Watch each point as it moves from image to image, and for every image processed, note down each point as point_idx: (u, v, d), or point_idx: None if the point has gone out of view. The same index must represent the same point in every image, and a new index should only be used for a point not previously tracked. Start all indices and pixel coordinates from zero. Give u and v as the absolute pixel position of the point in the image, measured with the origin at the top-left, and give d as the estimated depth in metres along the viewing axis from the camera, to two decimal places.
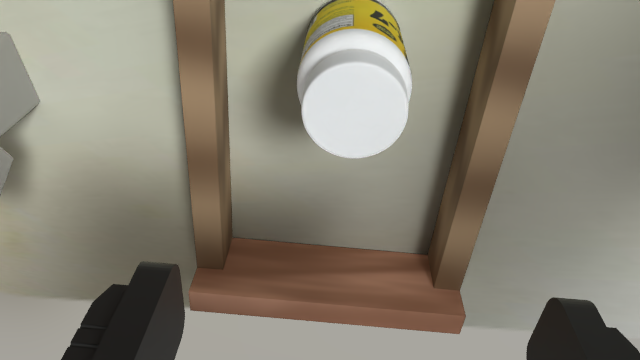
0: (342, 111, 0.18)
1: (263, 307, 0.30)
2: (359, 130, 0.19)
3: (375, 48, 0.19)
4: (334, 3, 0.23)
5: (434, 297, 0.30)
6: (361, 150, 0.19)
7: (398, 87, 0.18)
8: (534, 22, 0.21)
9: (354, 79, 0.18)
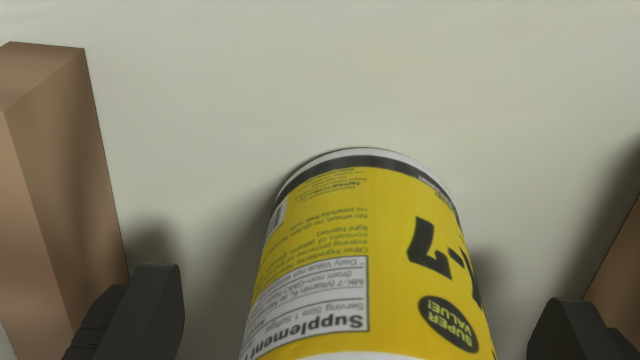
0: None
1: None
2: None
3: None
4: (324, 182, 0.11)
5: None
6: None
7: None
8: None
9: None
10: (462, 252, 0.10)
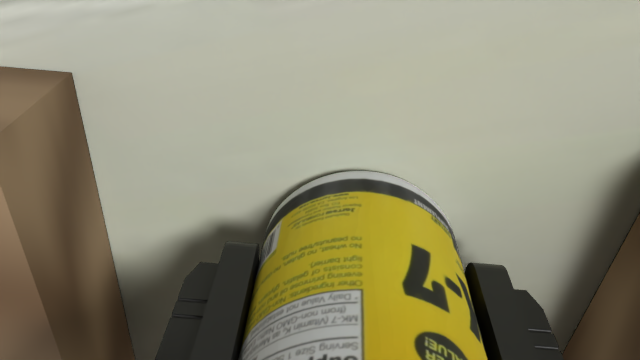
0: None
1: None
2: None
3: None
4: (317, 208, 0.10)
5: None
6: None
7: None
8: None
9: None
10: (459, 280, 0.10)
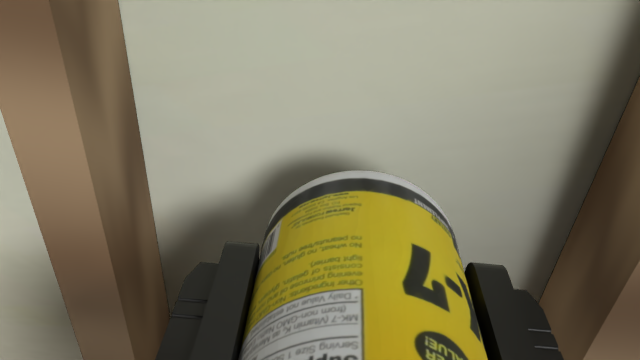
0: None
1: None
2: None
3: None
4: (317, 208, 0.10)
5: None
6: None
7: None
8: None
9: None
10: (459, 279, 0.10)
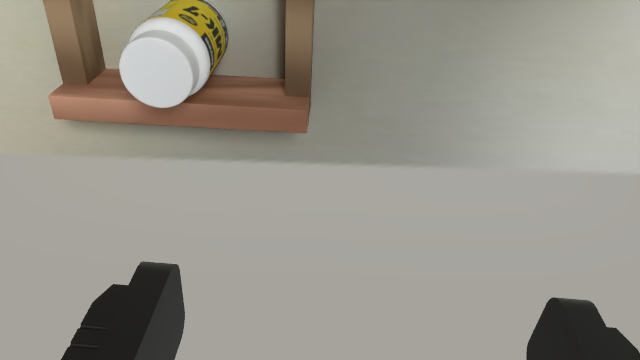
0: (147, 72, 0.27)
1: (120, 111, 0.32)
2: (162, 86, 0.27)
3: (173, 29, 0.27)
4: (168, 2, 0.31)
5: (283, 100, 0.32)
6: (167, 101, 0.28)
7: (180, 54, 0.26)
8: None
9: (149, 49, 0.26)
10: (210, 19, 0.31)
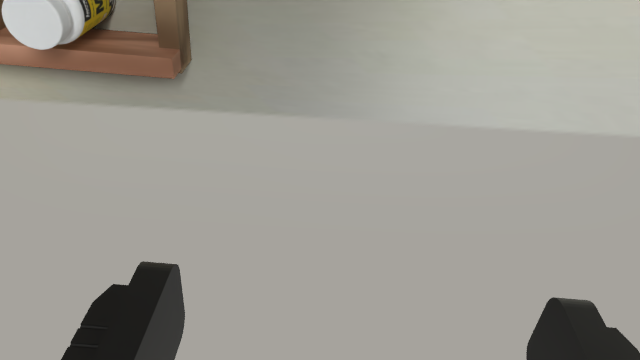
0: (24, 19, 0.33)
1: (18, 55, 0.38)
2: (38, 31, 0.33)
3: None
4: None
5: (155, 51, 0.39)
6: (43, 44, 0.34)
7: (49, 4, 0.32)
8: None
9: None
10: None
